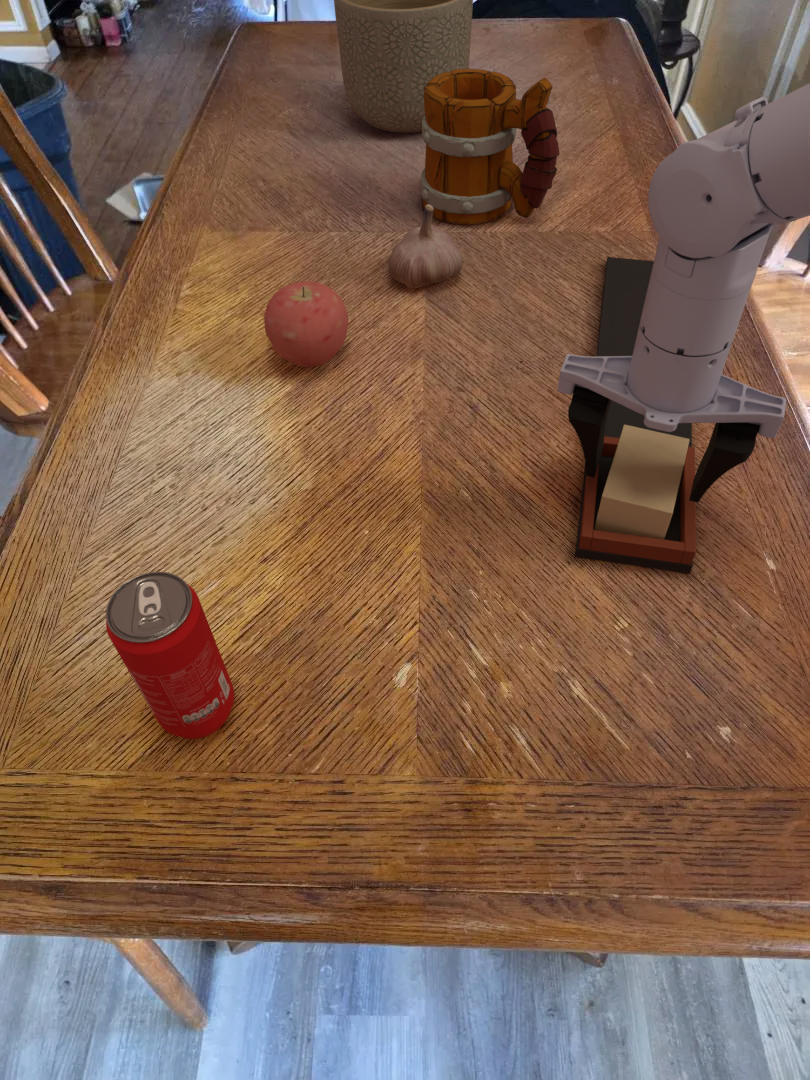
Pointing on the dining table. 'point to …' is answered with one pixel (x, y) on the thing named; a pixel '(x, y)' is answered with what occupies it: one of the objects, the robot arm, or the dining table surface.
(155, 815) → the dining table surface
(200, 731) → the beverage can
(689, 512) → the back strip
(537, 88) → the mug
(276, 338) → the apple
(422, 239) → the garlic bulb
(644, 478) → the foam pad
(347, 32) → the planter
